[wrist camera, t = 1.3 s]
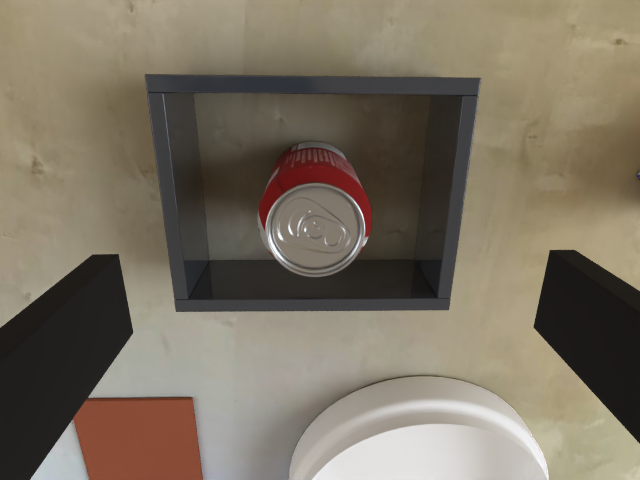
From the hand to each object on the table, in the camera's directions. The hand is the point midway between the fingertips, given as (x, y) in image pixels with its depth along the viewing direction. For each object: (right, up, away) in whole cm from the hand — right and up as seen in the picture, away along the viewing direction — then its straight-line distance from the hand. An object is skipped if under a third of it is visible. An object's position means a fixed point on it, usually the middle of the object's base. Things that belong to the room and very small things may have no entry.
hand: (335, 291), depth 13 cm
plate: (+10, -24, +34) cm, 42 cm away
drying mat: (-19, -23, +32) cm, 44 cm away
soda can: (-1, +6, +21) cm, 22 cm away
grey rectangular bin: (-1, +6, +21) cm, 22 cm away
